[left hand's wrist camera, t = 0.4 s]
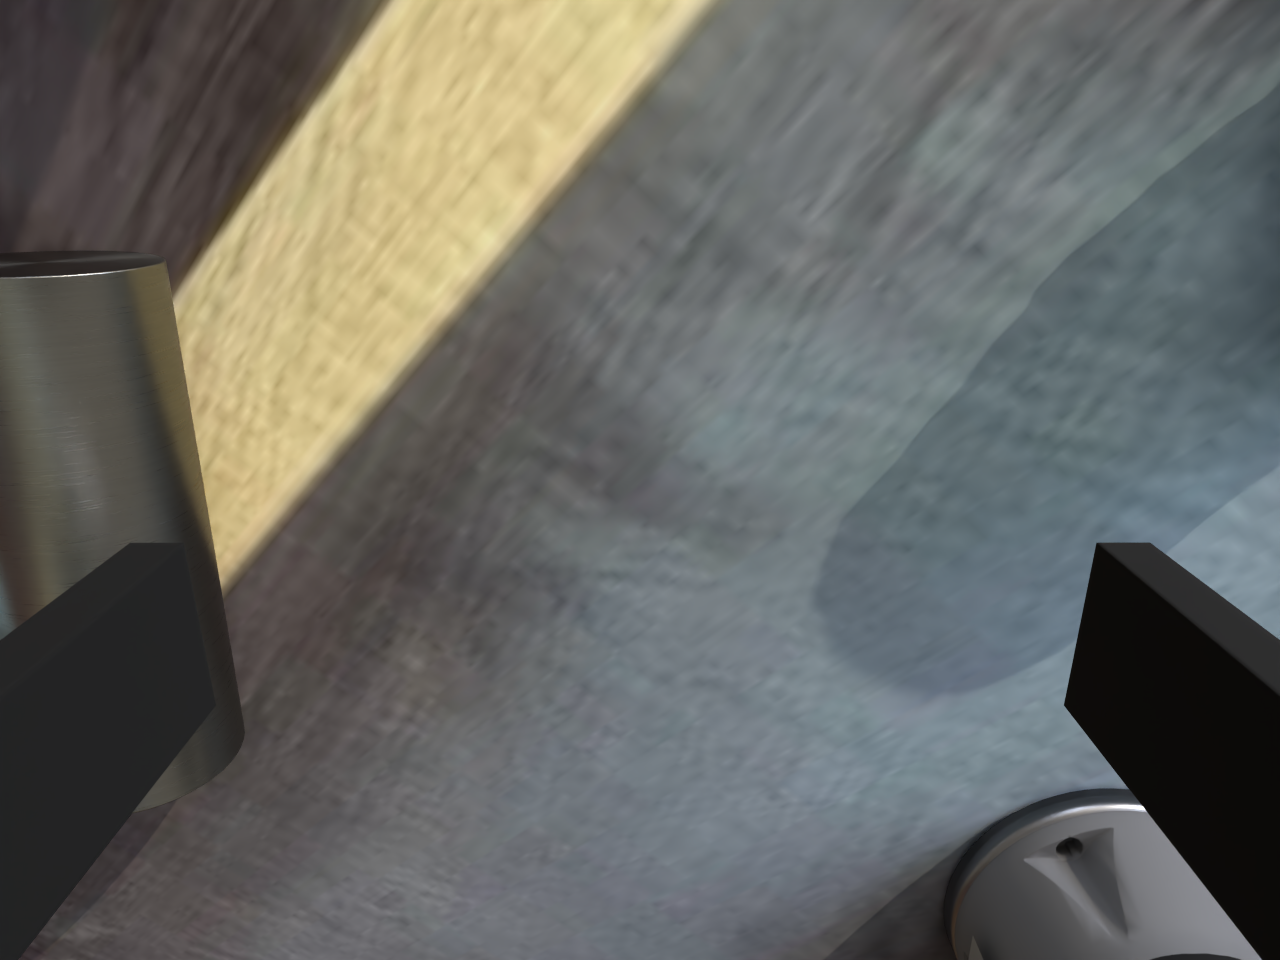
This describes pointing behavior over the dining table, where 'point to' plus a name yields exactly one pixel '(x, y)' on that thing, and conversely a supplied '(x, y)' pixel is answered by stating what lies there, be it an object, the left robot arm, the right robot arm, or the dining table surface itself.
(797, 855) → the dining table surface
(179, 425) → the rod
